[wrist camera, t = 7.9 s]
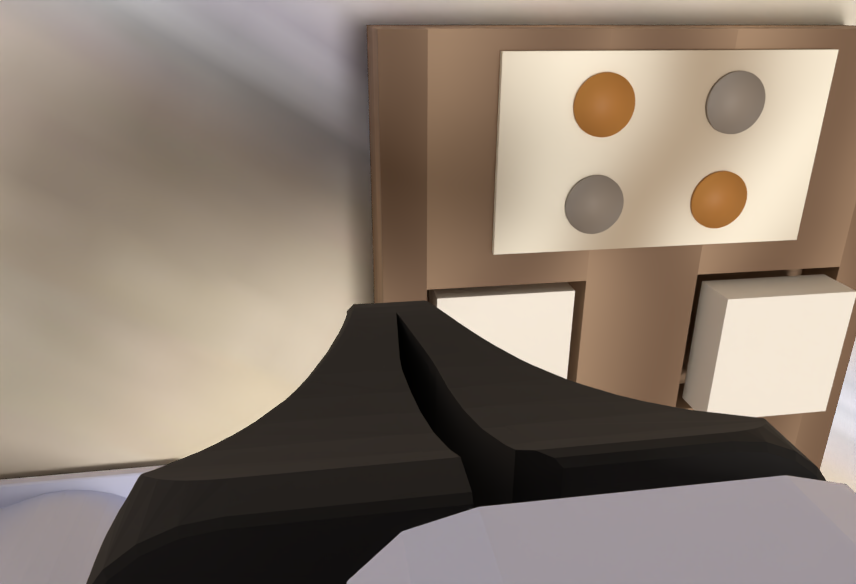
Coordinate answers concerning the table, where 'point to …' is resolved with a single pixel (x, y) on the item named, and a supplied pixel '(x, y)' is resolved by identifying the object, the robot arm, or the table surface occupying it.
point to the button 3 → (517, 319)
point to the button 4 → (767, 344)
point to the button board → (616, 177)
